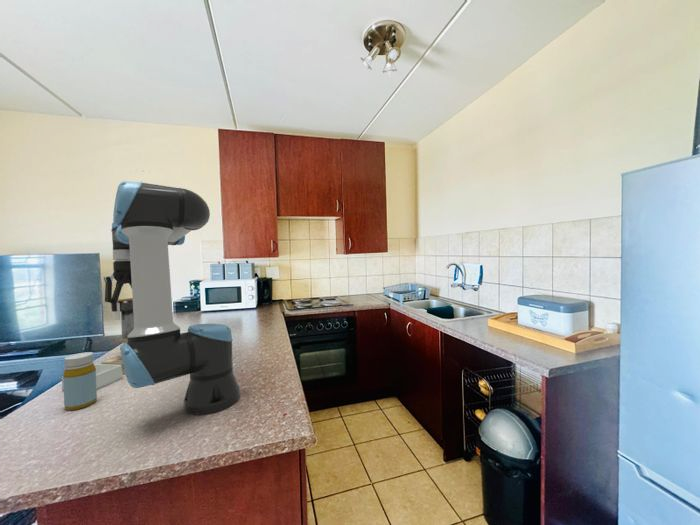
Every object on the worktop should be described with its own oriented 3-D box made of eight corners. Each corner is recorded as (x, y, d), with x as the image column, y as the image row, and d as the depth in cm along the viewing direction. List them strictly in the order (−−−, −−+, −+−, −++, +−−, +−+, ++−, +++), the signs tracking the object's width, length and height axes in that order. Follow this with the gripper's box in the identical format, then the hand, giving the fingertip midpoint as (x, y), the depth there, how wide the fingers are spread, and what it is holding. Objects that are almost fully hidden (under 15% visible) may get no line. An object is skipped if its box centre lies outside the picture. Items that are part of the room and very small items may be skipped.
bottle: (94, 396, 89) (92, 350, 88) (98, 403, 84) (96, 354, 84) (63, 406, 83) (61, 356, 83) (66, 414, 79) (63, 361, 78)
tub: (89, 393, 91) (89, 378, 91) (62, 391, 93) (61, 376, 93) (122, 378, 102) (121, 365, 102) (97, 377, 104) (96, 363, 104)
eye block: (127, 374, 105) (127, 363, 105) (101, 372, 107) (101, 362, 107) (155, 362, 117) (154, 353, 117) (130, 361, 119) (130, 352, 119)
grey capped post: (122, 340, 108) (121, 300, 108) (115, 338, 111) (114, 299, 111) (140, 336, 113) (139, 298, 113) (133, 334, 116) (132, 297, 116)
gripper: (99, 260, 101) (101, 323, 102) (156, 259, 118) (158, 314, 118) (90, 261, 105) (93, 321, 105) (147, 260, 122) (149, 312, 122)
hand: (127, 317), depth 112 cm, fingers closed on grey capped post, 6 cm apart
